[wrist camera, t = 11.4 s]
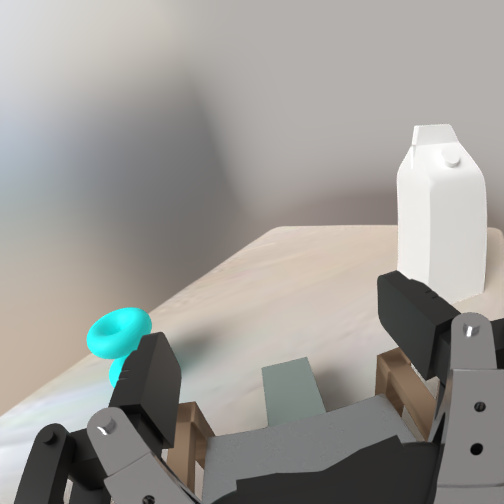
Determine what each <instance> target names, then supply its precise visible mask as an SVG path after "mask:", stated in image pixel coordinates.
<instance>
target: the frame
mask: <svg viewBox="0 0 504 504" xmlns="http://www.w3.org/2000/svg"><path fill="white" fill-rule="evenodd" d="M382 393H384V394H385V395H386V397H387V398H388V400H389V401H390V402H391V404H392V405H393V407H394V408H395V410H396V411H397V413H398V414H399V415H400V417H402V412H403V407H404V405H405V407H406V409H407V410H408V412H409V414H410V415H411V417H412V419H413V420H414V422H415V424H416V425H417V427H418V429H419V430H420V432H421V434H422V436H423V437H424V439H425V441H426V442H427V441H428V438H429V435H430V431H431V427H432V422H433V417H434V411H435V405H436V401H435V399H434V398H433V396H432V395H431V394H430V392H429V391H428V389H427V388H426V387H425V385H424V384H423V382H422V381H421V380H420V378H419V377H418V376H417V374H416V373H415V371H414V370H413V369H412V367H411V361H410V360H409V359H408V357H407V356H406V355H405V354H404V352H403V351H402V350H401V348H400V347H398V348H395V349H393V350H390V351H387V352H385V353H382V354H379V355H377V369H376V386H375V396H376V395H379V394H382ZM208 437H216V436H215V434H214V433H213V431H212V429H211V428H210V426H209V424H208V423H207V421H206V419H205V417H204V416H203V414H202V412H201V411H200V409H199V407H198V405H197V403H196V402H188V403H181V404H178V412H177V421H176V431H175V441H174V448H170V449H168V456H167V464H168V466H169V467H170V468H171V469H172V470H173V472H174V473H175V474H176V475H177V476H178V477H179V479H180V480H181V481H182V482H183V483H184V484H185V485H186V486H187V487H188V489H189V490H190V491H191V492H192V493H193V494H194V487H195V460H196V461H197V462H198V463H199V465H200V466H201V467H202V468H203V469H204V468H205V457H206V446H207V438H208Z"/></svg>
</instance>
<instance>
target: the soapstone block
mask: <svg viewBox="0 0 504 504" xmlns="http://www.w3.org/2000/svg"><path fill="white" fill-rule="evenodd" d="M262 376H263V384H264V392H265V401H266V409H267V417H268V426H269V427H272V426H277V425H281V424H285V423H290V422H294V421H298V420H301V419H305V418H309V417H313V416H316V415H320V414H323V413H326V410H325V407H324V404H323V401H322V398H321V395H320V393H319V390H318V387H317V384H316V381H315V378H314V375H313V373H312V370H311V367H310V364H309V361H308V358H307V357H304V358H300V359H297V360H293V361H289V362H284V363H280V364H276V365H272V366H267V367H263V368H262Z"/></svg>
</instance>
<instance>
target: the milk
mask: <svg viewBox="0 0 504 504" xmlns="http://www.w3.org/2000/svg"><path fill="white" fill-rule="evenodd" d="M397 194H398V195H397V196H398V269H397V271H399V272H401V273H402V274H403V275H404V276H406V277H407V278H408V279H409V280H410V279H414V280H417V281H420V282H422V283H424V284H426V285H427V286H428V287H429V288H431V289H432V291H434V292H436V293H437V294H438V295H439V297H440V296H441V297H442V298H443V299H444V300H446V301H447V302H448V303H449V304H450V305H451V304H454V303H456V302H459V301H462V300H465V299H468V298H470V297H473V296H476V295H478V294H481V293H483V290H484V281H485V268H486V250H487V205H486V188H485V180H484V177H483V174H482V172H481V170H480V169H479V167H478V166H477V165H476V163H475V162H474V161H473V159H472V158H471V157H470V155H469V154H468V153H467V151H466V150H465V149H464V148H463V146H462V145H461V144H460V143H459V142H458V139H457V137H456V135H455V133H454V131H453V129H452V127H451V125H450V124H437V125H423V126H422V125H421V126H414V133H413V140H412V146H411V147H410V149H409V151H408V153H407V155H406V157H405V158H404V160H403V162H402V164H401V166H400V168H399V170H398V173H397Z"/></svg>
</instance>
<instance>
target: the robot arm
mask: <svg viewBox="0 0 504 504" xmlns="http://www.w3.org/2000/svg"><path fill="white" fill-rule="evenodd" d="M377 289H378V315H379V319H380V322H381V324H382V326H383V327H384V328H385V330H386V331H387V332H388V333H389V335H390V336H391V337H392V338H393V340H394V341H395V342H396V343H397V345H398V346H399V347H400V348H401V350H402V351H403V352H404V354H405V355H406V356H407V357H408V359H409V360H410V361H411V363H412V364H413V365H414V366H415V368H416V369H417V370H418V372H419V373H420V374H421V376H422V377H423V378H424V379H425V381H427V380H429V379H431V378H433V377H435V376H437V377H438V378H439V379H440V380H439V384H438V390H437V398H436V405H435V411H434V417H433V422H432V427H431V431H430V435H429V438H428V441H427V442H424V441H423V442H406V443H401V441H400V439H399V438H398V436H397V435H394V436H392V437H390V438H387V439H385V440H382V441H380V442H377V443H375V444H372V445H370V446H367V447H365V448H362V449H359V450H358V451H356V452H355V453H353V454H351V455H350V456H348V457H346V458H345V459H343V460H341V461H339V462H338V463H336V464H334V465H332V466H330V467H329V468H327V469H325V470H322V471H317V472H298V473H273V474H268V475H263V476H257V477H251V478H245V479H238V480H236V487H237V490H235V491H232V492H230V493H228V494H226V495H224V496H222V497H220V498H218V499H217V500H215V501H214V502H212V503H211V504H504V318H502V319H498V320H494V321H489V320H488V319H487V318H486V317H484V316H483V315H481V314H478V313H472V312H468V313H463V314H461V313H460V312H459V311H458V310H456V309H455V308H454V307H453V306H452V305H450V304H449V303H448V302H447V301H446V300H444V299H443V298H442V297H441V296H440V297H439V295H438V294H437V293H436V292H434V291H432V289H431V288H429V287H428V286H427V285H426V284H424V283H422V282H420V281H417V280H414V279H410V280H409V279H408V278H407V277H406V276H404V275H403V274H402V273H401V272H399V271H397V270H396V271H393V272H390V273H387V274H384V275H380V276H379V277H378V279H377ZM118 379H119V380H117V383H116V386H115V388H114V391H113V394H112V397H111V400H110V403H109V406H108V408H104V409H102V410H100V411H98V412H97V413H95V414H94V415H93V416H92V417H91V419H90V420H89V422H88V425H87V428H85V429H82V430H78V431H75V432H71V433H69V432H68V431H67V430H66V429H65V428H64V427H63V426H62V425H61V424H57V423H54V424H50V425H47V426H45V427H44V428H43V429H42V430H40V432H39V433H38V434H37V436H36V438H35V441H34V443H33V446H32V449H31V451H30V454H29V457H28V460H27V463H26V466H25V469H24V472H23V475H22V478H21V481H20V484H19V487H18V491H17V494H16V498H15V501H14V504H64V500H63V497H64V492H65V487H66V483H67V479H69V480H71V481H72V482H73V486H72V491H71V495H70V500H69V504H110V503H111V497H112V498H113V500H114V502H115V504H203V503H202V502H201V501H200V500H199V499H198V498H197V497H196V496H195V495H194V494H193V493H192V492H191V491H190V490H189V489H188V487H187V486H186V485H185V484H184V483H183V482H182V481H181V480H180V479H179V477H178V476H177V475H176V474H175V473H174V472H173V470H172V469H171V468H170V467H169V466H168V464H167V463H166V462H165V461H164V460H163V459H162V457H161V453H162V449H170V448H174V441H175V431H176V421H177V412H178V403H179V395H180V387H181V370H180V366H179V363H178V361H177V359H176V357H175V355H174V353H173V351H172V349H171V347H170V345H169V343H168V341H167V338H166V336H165V335H164V333H163V332H158V333H153V334H147V335H143V336H142V337H141V340H140V342H139V345H138V348H137V350H134V351H132V352H131V353H130V355H129V356H128V357H127V358H126V359H125V361H124V364H123V366H122V369H121V372H120V374H119V377H118Z"/></svg>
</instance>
